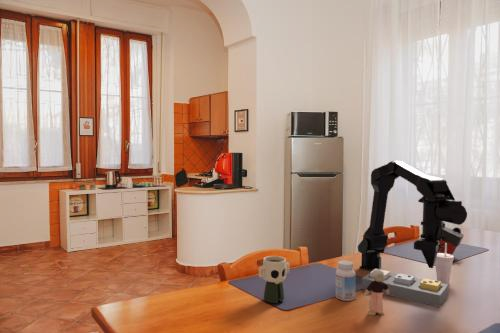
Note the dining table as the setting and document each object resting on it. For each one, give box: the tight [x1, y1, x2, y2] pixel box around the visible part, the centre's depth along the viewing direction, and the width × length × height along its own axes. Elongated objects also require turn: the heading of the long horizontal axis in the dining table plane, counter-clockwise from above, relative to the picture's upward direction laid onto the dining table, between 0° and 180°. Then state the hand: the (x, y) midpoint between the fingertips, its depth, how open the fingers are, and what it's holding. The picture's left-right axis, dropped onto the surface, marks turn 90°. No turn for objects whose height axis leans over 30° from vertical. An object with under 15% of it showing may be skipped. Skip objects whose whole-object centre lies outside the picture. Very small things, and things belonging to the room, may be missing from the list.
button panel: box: [361, 272, 449, 307], centre depth 129 cm, size 24×12×4 cm, turn 52°
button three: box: [420, 278, 441, 292], centre depth 124 cm, size 5×5×3 cm
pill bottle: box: [335, 260, 356, 302], centre depth 123 cm, size 6×6×11 cm
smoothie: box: [434, 243, 455, 284], centre depth 138 cm, size 6×6×14 cm
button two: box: [394, 273, 416, 286], centre depth 129 cm, size 5×5×3 cm
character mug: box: [258, 255, 290, 304], centre depth 120 cm, size 11×7×13 cm, turn 118°
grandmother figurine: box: [363, 269, 390, 316], centre depth 112 cm, size 8×4×13 cm, turn 114°
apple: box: [438, 240, 457, 255], centre depth 172 cm, size 11×11×12 cm
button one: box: [369, 268, 391, 280], centre depth 134 cm, size 5×5×3 cm
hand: (431, 267), depth 124 cm, fingers closed
